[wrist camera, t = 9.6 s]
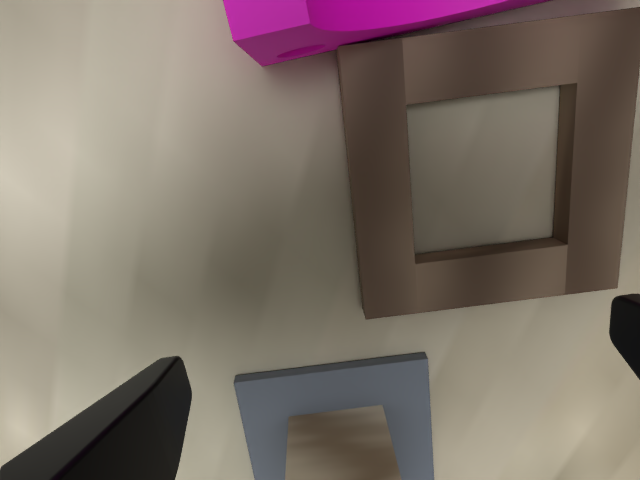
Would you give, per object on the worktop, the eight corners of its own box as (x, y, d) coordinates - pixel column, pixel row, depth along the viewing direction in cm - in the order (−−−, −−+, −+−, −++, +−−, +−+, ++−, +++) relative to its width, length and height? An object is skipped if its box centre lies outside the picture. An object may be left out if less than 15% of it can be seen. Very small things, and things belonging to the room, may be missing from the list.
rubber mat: (424, 352, 22) (427, 358, 22) (432, 497, 25) (435, 506, 25) (235, 375, 22) (233, 382, 22) (266, 517, 25) (265, 527, 25)
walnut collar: (623, 12, 18) (645, 6, 16) (600, 278, 21) (617, 288, 20) (336, 49, 18) (338, 46, 17) (362, 308, 21) (365, 319, 20)
